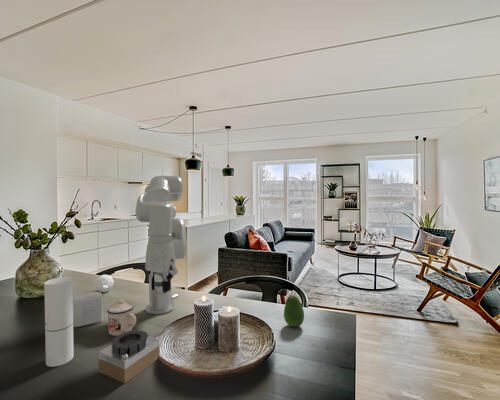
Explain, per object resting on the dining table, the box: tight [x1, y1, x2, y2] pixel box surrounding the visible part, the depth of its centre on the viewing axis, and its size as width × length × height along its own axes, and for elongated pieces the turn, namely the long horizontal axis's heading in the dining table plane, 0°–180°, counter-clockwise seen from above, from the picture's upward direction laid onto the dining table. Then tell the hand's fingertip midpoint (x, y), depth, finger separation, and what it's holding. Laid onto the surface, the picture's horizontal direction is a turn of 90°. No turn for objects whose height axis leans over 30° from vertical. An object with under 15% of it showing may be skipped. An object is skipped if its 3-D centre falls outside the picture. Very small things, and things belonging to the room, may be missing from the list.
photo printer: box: [73, 291, 104, 328], centre depth 109 cm, size 10×4×12 cm, turn 123°
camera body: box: [98, 329, 161, 384], centre depth 83 cm, size 13×11×8 cm
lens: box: [154, 272, 167, 295], centre depth 96 cm, size 5×5×7 cm
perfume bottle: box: [93, 274, 115, 293], centre depth 143 cm, size 9×9×12 cm
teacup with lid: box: [106, 298, 137, 337], centre depth 103 cm, size 12×9×12 cm
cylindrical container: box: [43, 276, 75, 368], centre depth 85 cm, size 7×7×25 cm
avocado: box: [283, 295, 305, 328], centre depth 106 cm, size 8×8×12 cm
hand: (161, 289), depth 96 cm, fingers closed on lens, 4 cm apart
